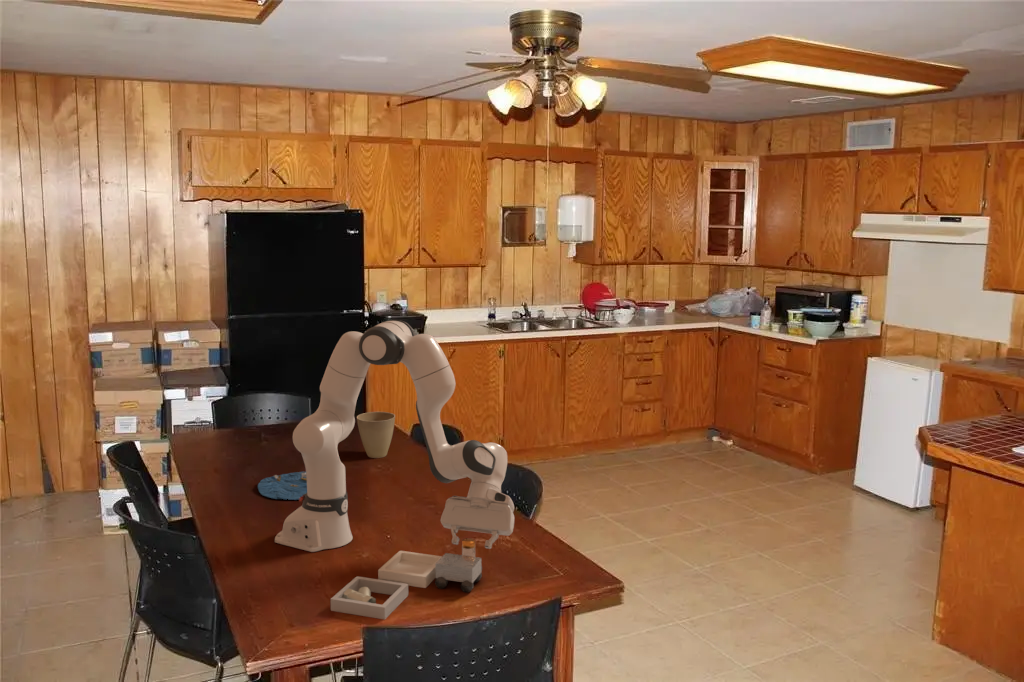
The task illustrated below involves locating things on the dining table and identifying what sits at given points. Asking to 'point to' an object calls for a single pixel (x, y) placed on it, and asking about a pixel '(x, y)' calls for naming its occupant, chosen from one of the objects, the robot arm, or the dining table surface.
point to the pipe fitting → (359, 595)
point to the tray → (410, 569)
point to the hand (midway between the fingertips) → (471, 545)
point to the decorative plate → (284, 486)
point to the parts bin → (366, 608)
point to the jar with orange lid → (468, 547)
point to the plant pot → (376, 432)
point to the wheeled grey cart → (458, 571)
